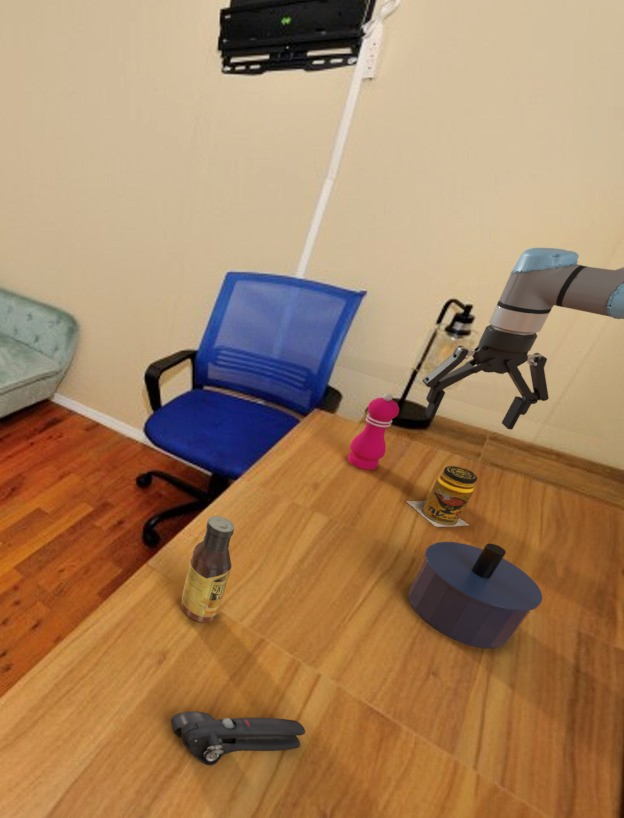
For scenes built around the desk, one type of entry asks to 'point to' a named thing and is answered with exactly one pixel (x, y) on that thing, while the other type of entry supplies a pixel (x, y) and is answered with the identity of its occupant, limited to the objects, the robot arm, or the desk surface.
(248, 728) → the can opener
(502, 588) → the pot lid
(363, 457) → the pepper mill
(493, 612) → the pot
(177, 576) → the desk surface
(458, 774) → the desk surface
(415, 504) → the condiment
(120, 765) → the desk surface
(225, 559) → the sauce bottle
